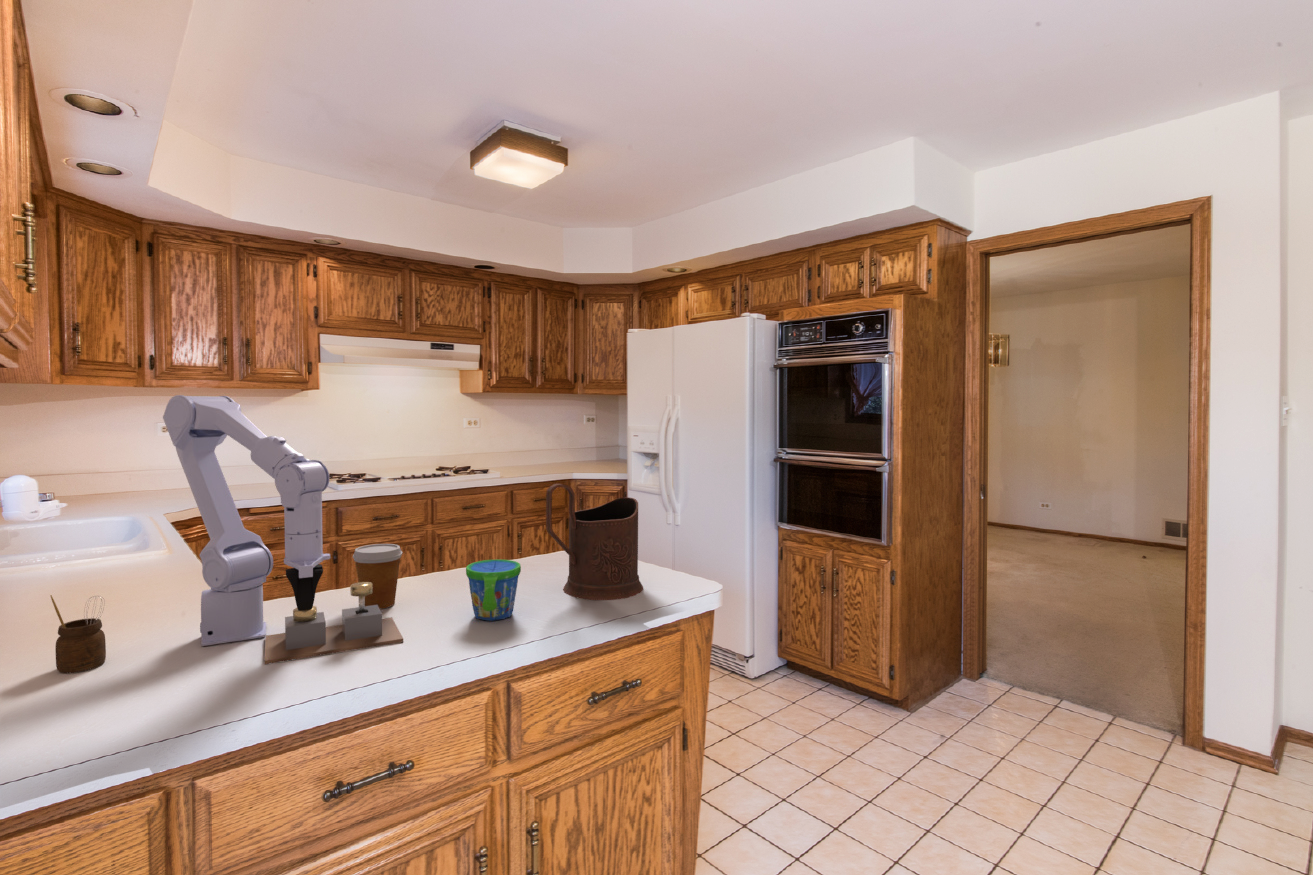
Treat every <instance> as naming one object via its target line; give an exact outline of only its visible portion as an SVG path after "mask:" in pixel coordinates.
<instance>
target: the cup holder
mask: <svg viewBox="0 0 1313 875" xmlns="http://www.w3.org/2000/svg"><path fill="white" fill-rule="evenodd" d="M558 488H563V489H565V490H566V491H567V492H568V515H569V516H568V544H569V545H568V546H567V545H566V544H565V543H564V542H563V540H561V538H560V537H559V536H558V535H557V534H556V533H555V531H553V528H552V518H553V517H552V516H553V515H552V508H553V492H554V491H555V490H556V489H558ZM575 497H576V496H575V492H574V489H573V488H572V487H571V486H569V485H566V484H562V483H554V484H552V485H551V486H549V487H548V488H547V489H546V493H545V529H546V532H547V534H549V536H551V538H552V539H553V540H554V541H555V542H556V543H557V544H558V545H559V546H560V547H561V548H562V549H563V551H564V552H565V553H566V554H567V555H568V575H567V579H566V580H567V581H566V583H565V584H564V586H563V588H562V591H563V593H565V594H566V595H567V596H570V597H572V598H576V599H582V600H587V601H589V600H590V601H612V600H613V601H614V600H622V599H628V598H632V597H634V596H637V595H639V594H641V593H642V592H643V591H644V586H643V584H642V582H641V581H640V575H639V574H638V573H639V570H638V568H639V565H638V564H639V561H638V560H639V501H638V500H637V499H635V498H633V497H627V496H626V497H625V496H623V497H618V498H616V499H613V500H611V501H608V502H606V503H604V504H602V505H599V506H596V507H593V508H592V507H591V508H586V509H580V510H576V509H575V505H576V502H575V500H576V498H575ZM575 510H576V511H575Z"/></svg>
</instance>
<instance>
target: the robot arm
mask: <svg viewBox="0 0 1313 875" xmlns="http://www.w3.org/2000/svg"><path fill="white" fill-rule="evenodd" d="M162 419H163V422H164V424H165V427H166V429H167V432H168V435H169V436H170V440H171V442H172V445H173V446H174V448H175V451H176V455H177V457H178V460H179V462H180V464H181V467H182V470H183V472H184V475H185V477H186V480H187V483H188V485H189V488H190V490H191V493H192V495H193V498H194V500H195V504H196V506H197V508H198V509H197V510H198V512H199V514H200V516H201V518H202V521H203V524H204V526H205V529H206V532H207V533H208V537H209V539H210V540H209V541H208V542H207V544H206V545H204V547H203V549H201V551H200V553H199V558H200V562H201V566H202V570H201V571H202V572H201V573H202V577H203V580H204V582H205V583H206V585H207V586H208V587H209V589H204V590H202V591H201V596H200V597H201V598H200V625H199V632H200V635H201V636H200V637H201V643H200V645H201V646H202V647H205V646H212V645H219V644H227V643H231V642H232V643H233V642H240V641H247V640H253V639H261V638H266V636H267V622H266V621H264V589H263V588H264V587H263V583H266V582H267V577H268V576H269V575H270V574H271V573H272V570H273V567H274V557H273V554H272V552H271V551H270V549H269V548H268V547H267V546H266V545H265V543H264V542H263V540H262V537H261V536H260V535H258V534H257V533H254V532H253V531H250V530H248V529H247V528H245V527H244V523H243V521H242V519H241V516H240V514H239V511H238V508H237V506H236V503H235V501H234V498H233V495H232V494H231V490H230V488H229V486H228V483H227V480H226V478H225V475H224V472H223V471H222V470H223V469H222V467H221V465H220V463H219V460H218V458H217V456H216V455H217V454H216V453H215V451H216V449H217V446H219V445H221V444H223V442H224V441H225V440H226V438H227V436H228V437H229V438H231V439H232V440H234V441H236V442H237V443H238V444H240V445H241V446H243V447H244V448H246V449H247V450H249V451H250V459H251V461H252V463H254V464H255V465H256V466H258V467H259V468H260V469H261V470H262V471H264V472H265V473H266V474H268V476H270V477H271V478H273V480H274V486H275V487H276V488H275V489H276V490H277V493H278V494H279V496H280V504H281V506H282V507H284V508H283V511H284V513H283V514H284V558H283V564H284V565H286V566H288V567H290V568H287V569H285V577H286V578H287V580H288V582H289V583H290V586H291V587H292V591H293V595H294V600H295V604H296V608H298V611H302V610H310V609H312V607H313V606H314V602H315V597H316V591H317V587H318V584H319V581H320V579H321V577H322V575H323V573H324V570H323V564H321V563H322V562H323V561H328V560H331V553H324V551H323V549H324V547H323V545H324V544H323V542H324V541H323V495H322V494H323V492H324V491H326V489H327V488H328V486H329V485H330V484H329V483H330V472H329V470H328V468H327V466H326V465H325V464H324V463H323V462H322V460H320V459H312V460H311V459H309V458H305V456H304V454H302V453H301V452H298V451H297V450H296V449H294V448H292V446H290V445H289V444H288V443H287V440H286V439H285V438H284V437H283V436H275V435H270V436H267V435H266V434H264V432H262V430H260V429H259V427H257V426H256V425H255V423H253V422H252V421H251V420H250V419H249V418H248V417H246V415H245V414H244V413H242V408H241V405H240V403H238V402H236V401H234V399H233V398H231V396H228V395H220V396H219V395H218V396H203V395H201V396H199V395H196V396H194V395H183V394H177V395H174V396H172V397H171V398H170V399H169V400H168V402H167V404H166V407H165V410H164V414H163V415H162Z"/></svg>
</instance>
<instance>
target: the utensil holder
mask: <svg viewBox="0 0 1313 875" xmlns="http://www.w3.org/2000/svg"><path fill="white" fill-rule="evenodd" d="M97 598H100V600H101V602H100V603H101V604H100V606H99V608H100V609H99V610H98V611H99V612H98V614H97V616H96V618H95V615H92V616H91V617H90V618H88V611H89V610H88V609H90V606H89V605H90V603H91V602H92V600H93V599H94V600H95V601H94V603H93V604H97V602H98V600H97ZM50 599H51V602H52V605H53V607H54V610H55V613H56V615H57V617H58V619H59V623H60V625H59V626H58V629H57V634H58V636H59V637H58V638H57V639H56V640H55V649H54V650H55V666H56V670H57V672H58V673H61V674H77V673H82V672H87V671H91V670H94V669H96V668H99V667H101V666H102V665H103V664H104V663H105V662H106V658H107V649H106V648H107V646H106V644H107V642H106V635H105V632H104V631H103V630H102V628H103V623H102V620H101V619H100V618H101V616H102V615H103V612H104V608H105V607H102V605H105V603H106V601H105V598H104V597H103V596H101V595H93V596H91V597H89V598H88V599H87V600H86V602H85V606H84V607H87V608H84V610H83V612H85V611H86V612H85V613H86V614H85V615H83V616H84V617H83V618H81V619H77V620H71V621H67V622H64V620H63V617H62V615H61V612H60V610H59V608H58V606H57V604H56V602H55V599H54V597H53V595H50ZM103 601H104V603H103ZM86 605H87V606H86ZM94 607H95V608H94ZM96 607H97V606H95V605H93V607H92V609H96ZM95 613H96V610H92V612H91V614H95Z"/></svg>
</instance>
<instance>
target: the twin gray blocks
mask: <svg viewBox="0 0 1313 875" xmlns="http://www.w3.org/2000/svg"><path fill="white" fill-rule="evenodd" d="M325 617H326V616H325V614H324V611H321V612H317V617H316V618H315V619H312V620H309V621H294V620H293V615H291V616H285V617H284V624H285V625H284V627H285V628H284V633H285V642H286V650H291V649H297V648H304V647H310V646H316V645H323V644H326V627H327V625H326V624H327V622H326V618H325ZM382 619H383V612H382V611H381V609H379V607H378V605H371V606H365V613H360V614H359V606H357V607H350V608H342V609H341V625H342V632H343V635H344V639H345V641H348V640H355V639H361V638H368V637H374V636H380V635H382Z"/></svg>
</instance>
